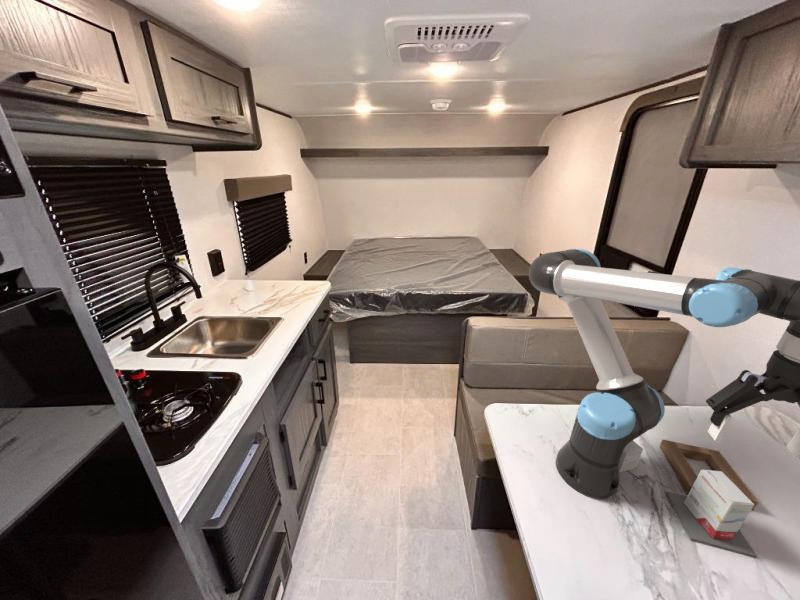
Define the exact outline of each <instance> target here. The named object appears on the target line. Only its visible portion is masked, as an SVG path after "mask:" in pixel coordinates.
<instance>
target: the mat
mask: <svg viewBox="0 0 800 600" xmlns="http://www.w3.org/2000/svg"><path fill="white" fill-rule="evenodd" d="M665 493H666V495H667V498H668V499H669V501H670V503H671V505H672V507H673V509H674V511H675V513H676V514H677V517H678V519H679V521H680V523H681V525H682V526H683V528H684V531H685V532H686V534H687V537H688V539H689V540H690V541H692V542H696V543H699V544H700V543H701V544H703V545H704V544H705V545H708V546H711V547H714V548H719V549H722V550H725V551H729V552H733V553H737V554H741V555H744V556H748V557H752V558H757V557H758V556H757V554H756V553H755V551H754V550H753V547H752V546H751V544H750V543H749V542H748V540H747V539H746V537H745V536H744V534H743V533H742V532H741V529H739V530H738V531H737V533H736V534H735V536H734V538H733V539H715V538H712V537H711V536H710V535H709V534H708V533H707V531H706V530H705V529H704V528H703V526H702V525H701V524H700V522H699V521H698V520H697V519H696V517H695V516H694V515H693V514H692V512H691V511H690V510H689V509H688V507H687V506H686V505H685V504H684V501H685V499H686V498H687V496H688V495H687V494H686V495H685V494H681V493H676V492H673V491H670V490H666V491H665Z"/></svg>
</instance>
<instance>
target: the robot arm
mask: <svg viewBox="0 0 800 600" xmlns="http://www.w3.org/2000/svg"><path fill="white" fill-rule="evenodd" d="M528 279H529V281H530V284H531V285H532V286H533V287H534V288H535V289H536V290H537V291H539V292H542V293H544V294H548V295H549V294H550V295H553V296H557V297H558V300H560V301H562V302H565V303H566V305H567V307H568V309H569V311H570V314H571V316H572V319H573V321H574V323H575V325H576V328H577V331H578V334H579V335H580V338H581V340H582V343H583V346H584V347H585V349H586V352H587V354H588V357H589V359H590V361H591V364H592V366H593V368H594V370H595V373H596V376H597V378H598V381H597V384H596V386H595V387H596V391H597V392H592V393H589V394H587V395H585V396H584V398H582V400H581V402H580V404H579V406H578V408H577V412H576V417H575V419H574V423H573V426H572V430H571V433H570V436H569V440H568V441H567V442H565V444H564V445H562V447H561V448H560V449H559V450H558V452H557V454H556V458H555V467H556V470H557V471H558V472H557V473H558V474H559V476H560V477H561V478H562V479H563V481H564V482H565V483H566V484H568V485H569V486H570V487H571V488H572V489H574V490H575V491H576V492H579V493H581V494H583V495H585V496H587V497H591V498H593V499H599V500H600V499H601V500H602V499H609V498H611V497H614V496H615V495H616V494H617V492H618V489H619V487H620V483H621V482H620V481H621V476H620V472H619V466H618V463H619V461H620V458H621V456H622V453H623V451H624V448H625V447H626V445H627V444H628V443H630V442H631V441H635V440H636V439H637V438H639V437H640V436H642V435H643V434H645V433H646V432H648V431H650V430H652V429H654V428H655V427H656V426H657V425H658V424H659V423H660V422H661V421H662V419H663V418H664V415H665V412H666V411H665V403H664V400H663V398H662V397H661V395H660V393H659V392H658V391H657V390H656V389H655V388H652V387H651V385H649V384H647V383H646V381H645V380H644V378H643V377H642V376H641V375H639V374H637V373H634V370H633V369H632V367H631V364H630V362H629V360H628V357H627V355H626V353H625V350H624V348H623V346H622V344H621V341H620V339H619V337H618V335H617V332H616V331H615V329H614V325H613V324H612V321H611V319H610V317H609V315H608V313H607V310H606V308H605V305H604V304H603V301H606V302H607V301H608V302H612V303H618V304H623V305H627V306H634V307H639V308H644V309H649V310H655V311H661V312H666V313H672V314H677V315H682V316H687V317H688V316H689V317H692V318H694V319H695V320H697V321H698V322H700V323H701V324H703V325H706V326H709V327H712V328H726V327H730V326H736V325H739V324H741V323H744V322H747V321H748V320H750V318H752V317H754V316H755V315H758V314H760V315H761V314H762V315H765V316H768V317H772V318H776V319H780V320H784V321H788V322H789V324H788V325H787V327H786V329H785V331H784V332H783V334H782V335H781V337H780V339H779V340H778V342H777V344H776V346H775V349H776V350H774V351H773V352H772V354H771V356H770V358H769V359H768V361H767V363H766V365H765V366H766V367H765V372H764V373H762V374H756V373H752V372H751V371H750V370H748V369H745V370H742V371H741V373H740V374H739V376H738V377H737V378H736V379H734V380H733V381H731V382H729V384H727V385H725V387H723V388H721V389H720V390H718V391H717V392H716V393H714V394H713V395H711V396H710V397H708V398H707V399H706V400H705V402H706V404H707V405H708V406H709V407H710V408H711V410H713V412H712V414H711V416H710V418H709V421H710V422H711V424H710V426H709V428H708V430H707V432H708V434H709V435H710V436H711V437H712V439H713V440H714V441H715V442H720V441H721V439H722V437H723V436H724V434H725V432H726V430H727V429H728V427H729V425H730V423H731V421H732V420H733V417H732V415H731V414H734V413H737V412H738V411H741V410H743V409H746V408H749V407H750V406H753V405H755V404H759V403H760V402H770V401H771V400H773V401H776V402H786V403H790V404H797V405H798V408H800V280H797V279H794V278H788V277H785V276H784V277H782V276H778V275H775V274H774V275H773V274H771V273H770V274H769V273H766V272H765V273H764V272H760V271H759V272H758V271H755V270H752V269H749V268H745V269H743V268H738V267H730V266H729V267H725V268H723V269H722V270H720V272H718V273H717V274H716V276H715V277H714V278H702V277H701V278H699V277H695V276H687V275H686V276H685V275H677V274H676V275H675V274H674V275H673V274H665V273H658V272H657V273H656V272H646V271H637V270H628V269H618V268H608V267H607V268H606V267H601V263H600V260H599V259H598V257H597V256H596V255H595V254H594V253H592V252H591V251H589V250H586V249H583V248H570V249H569V248H568V249H565V250H559V251H553V252H546V253H543V254H540V255H539V256H537V257H536V258H535V259H534V260H533V261H532V262H531V264H530V266H529V269H528ZM761 391H763V392H764V393H762V392H761ZM786 448H787V449H788V451H790V453H792V454H793V455H794V456H795V457H796V458H798V459H800V426H799V427H797V430H796V431H795V433H794V434H793V436H792V437H791V439H790V441H789V442H788V443H787V445H786Z"/></svg>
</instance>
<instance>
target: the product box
mask: <svg viewBox="0 0 800 600" xmlns="http://www.w3.org/2000/svg"><path fill="white" fill-rule="evenodd" d="M643 451H644V448H643V447H641V446H640V445H639V444H638V443H637V442H635V440H633V441H631V442H630V443H628V444H627V445H626V447H625V448H624V451H623V453H622V456H621V458H620V461H619V463H618V466H619V473H622V472H625V471H630V470H634V469H636V467H637V466H638V463H639V460H640V458H641V456H642V453H643Z"/></svg>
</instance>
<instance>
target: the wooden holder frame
mask: <svg viewBox="0 0 800 600" xmlns="http://www.w3.org/2000/svg"><path fill="white" fill-rule="evenodd" d="M659 444H660V445H659V449H660V451H661V453H662V454H663V456H664V457H665V460H666V461H667V463H668V464H669V467H670V468H671V469H672V471H673V474H674V475H675V477H676V479H677V480H678V482H679V483H680V486H681V487H682V489H683V491H684V493H685V494H686V496H688V494H689V492H690V490H691V488H692V486H693V484H694V482H695V480H696V479H697V477H698V474H696V472H695V470H694V469H693V467H692V465H691V464H690V462H689V461H688V459H690V460H695V461H700V462H703V463H704V462H705V464H706V465H708V467H709V468H710V469H709V470H714V471H722V472H723V473H724V474H725V475H726V476H727V477H728V478H729V479H730V480H731V481H732V482H733V483H734V484H735V485H736V486H737V487H738V488H739V489H740V490H741V491H742V492H743V493H744V494H745V496H746V497H747V498H748V499H749V500H750V501H751V502H752V503H753V504H754V506H753V508H752V509H751V511H754V510H755V509H756V508H757V506H758V505H759V503H760V502H759V500H758V499H757V498H756V497H755V495H754V494H753V492H751V490H750V489H749V488H748V486H747V485H746V484H745V482H744V481H743V480H742V479H741V477H740V476H739V475H738V473H737V472H736V471H735V470H734V469H733V467H732V466H731V464H729V462H728V461H727V460H726V458H725V457H724V455H723V454H722V453H721V451H720V450H716V449H710V448H705V447H701V446H697V445H691V444H686V443H680V442H676V441H672V440H668V439H662V440H661V442H660V443H659Z"/></svg>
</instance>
